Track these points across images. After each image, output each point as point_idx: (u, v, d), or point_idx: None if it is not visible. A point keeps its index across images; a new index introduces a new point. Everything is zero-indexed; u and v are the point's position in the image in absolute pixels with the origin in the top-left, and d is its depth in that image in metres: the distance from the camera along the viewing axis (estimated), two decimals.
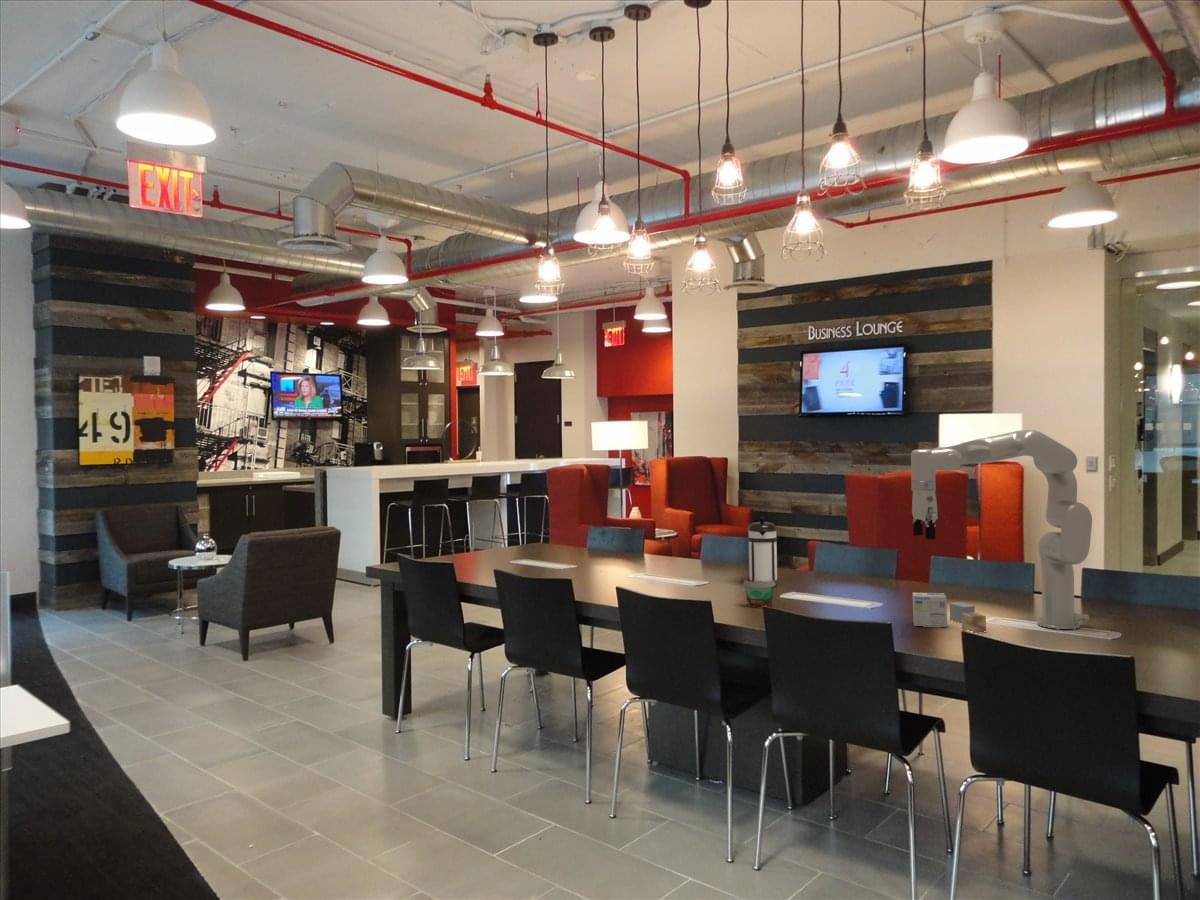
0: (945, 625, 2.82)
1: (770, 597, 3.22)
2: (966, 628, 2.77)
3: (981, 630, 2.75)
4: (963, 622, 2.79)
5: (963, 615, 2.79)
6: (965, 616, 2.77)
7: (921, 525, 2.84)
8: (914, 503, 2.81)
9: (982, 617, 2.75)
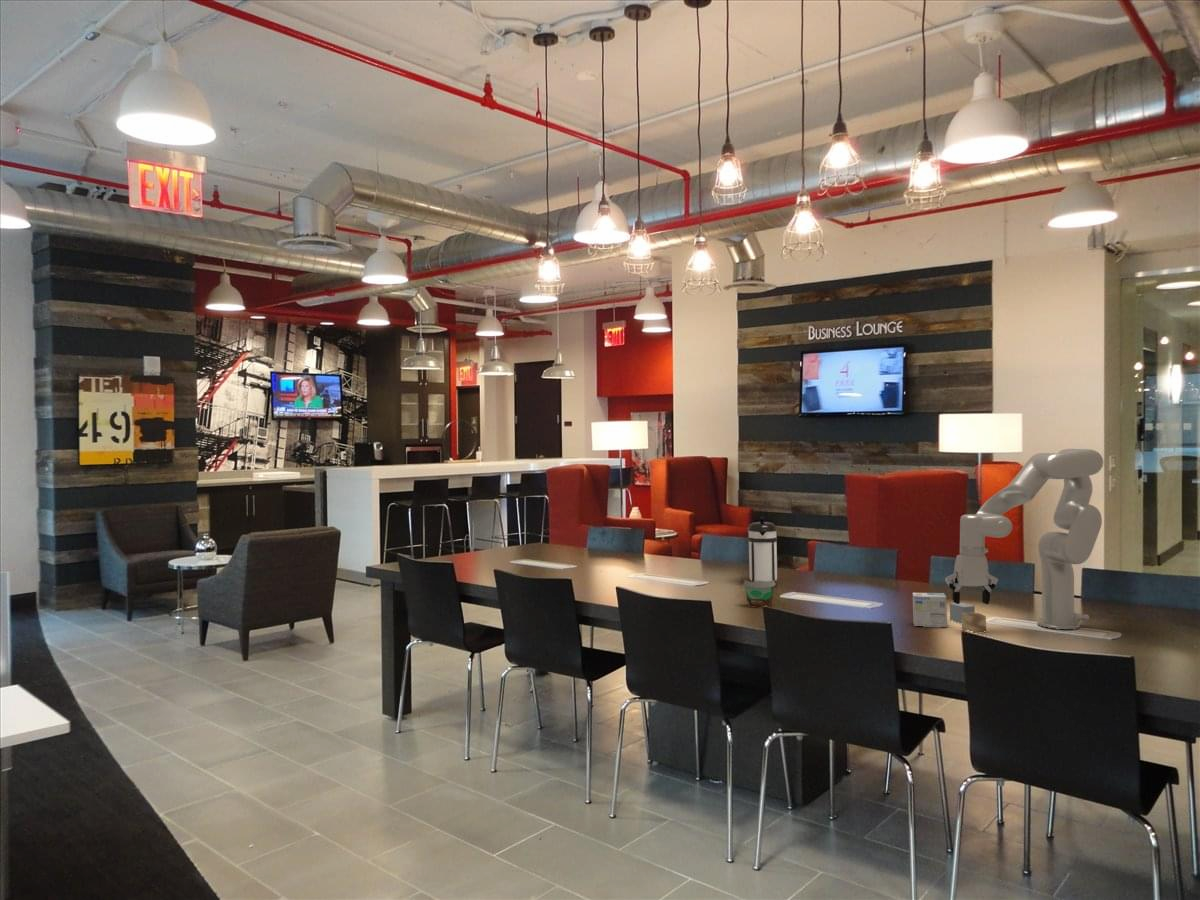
0: (945, 625, 2.82)
1: (770, 597, 3.22)
2: (966, 628, 2.77)
3: (981, 630, 2.75)
4: (963, 622, 2.79)
5: (963, 615, 2.79)
6: (965, 616, 2.77)
7: None
8: (969, 570, 2.75)
9: (982, 617, 2.75)
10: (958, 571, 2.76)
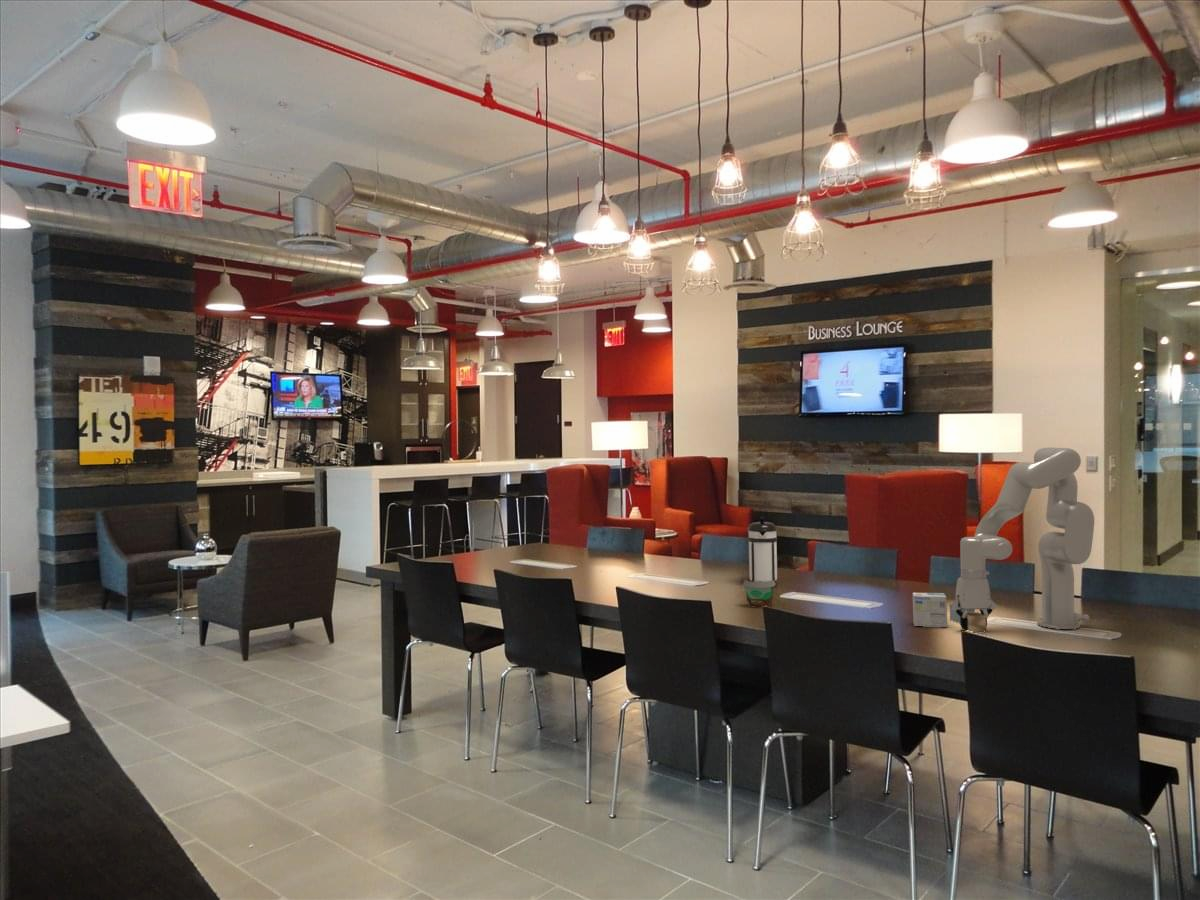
0: (945, 625, 2.82)
1: (770, 597, 3.22)
2: None
3: (981, 629, 2.75)
4: None
5: None
6: None
7: None
8: (971, 593, 2.75)
9: (982, 617, 2.75)
10: (960, 595, 2.76)
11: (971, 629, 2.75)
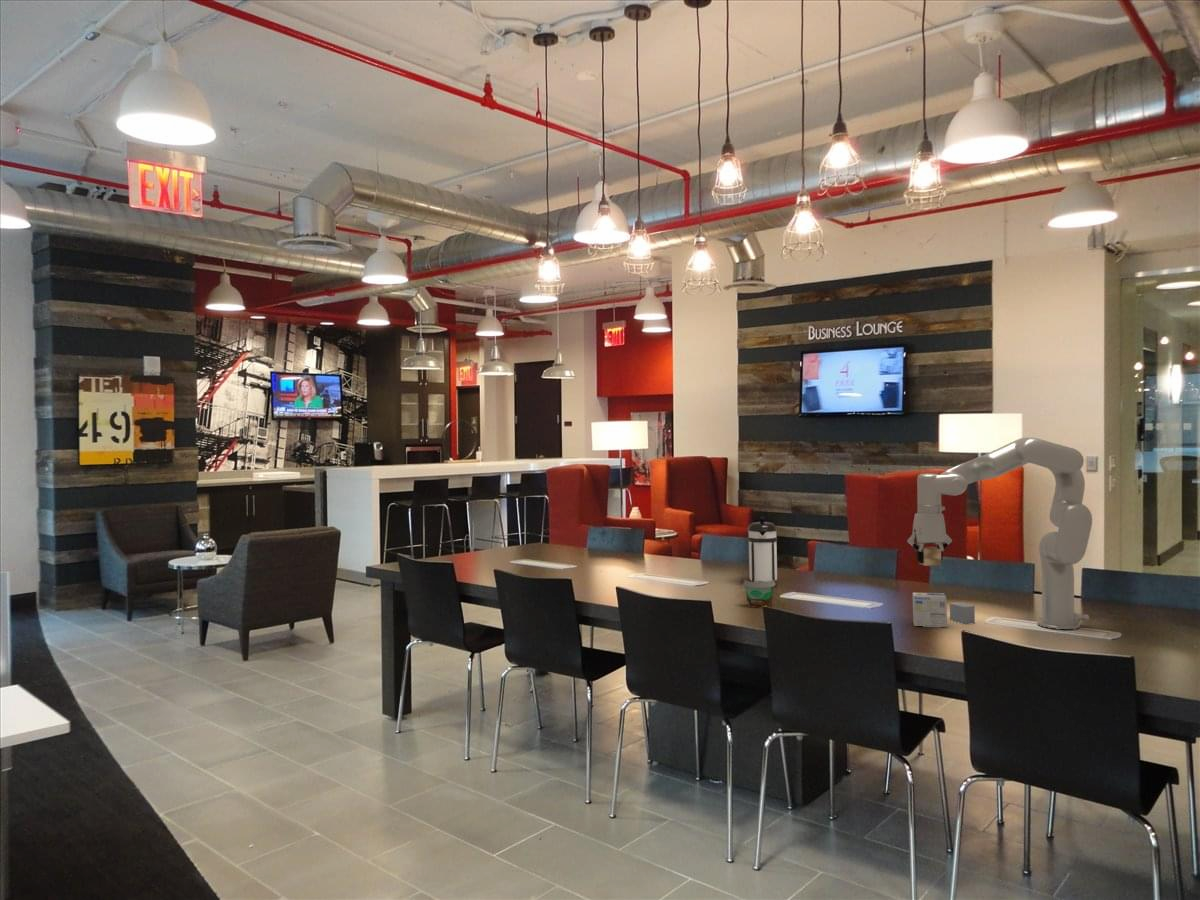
0: (945, 625, 2.82)
1: (770, 597, 3.22)
2: None
3: (937, 563, 2.83)
4: None
5: None
6: None
7: None
8: (927, 527, 2.83)
9: (937, 550, 2.83)
10: (916, 529, 2.84)
11: (927, 562, 2.83)
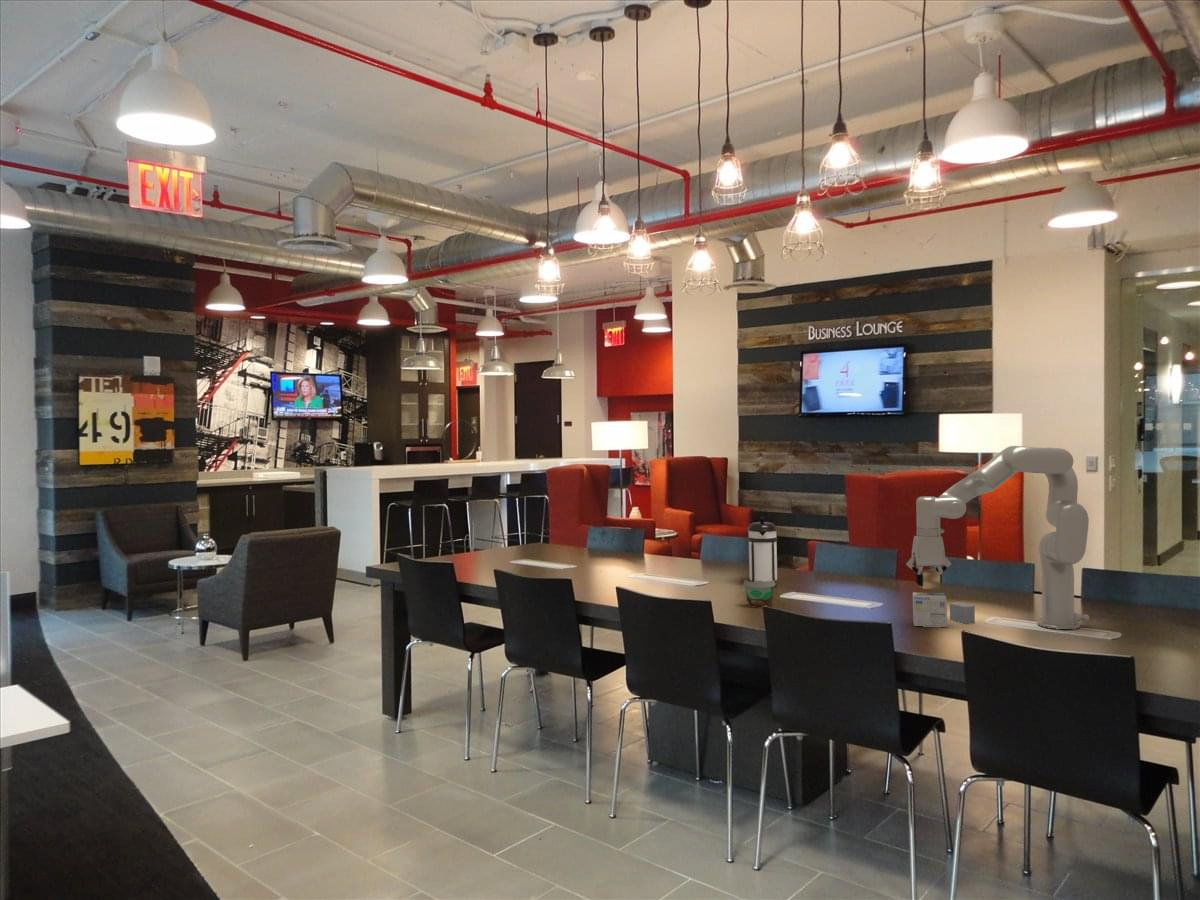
0: (945, 625, 2.82)
1: (770, 597, 3.22)
2: None
3: (936, 586, 2.83)
4: None
5: None
6: None
7: None
8: (926, 551, 2.84)
9: (937, 573, 2.83)
10: (915, 552, 2.85)
11: (926, 585, 2.83)
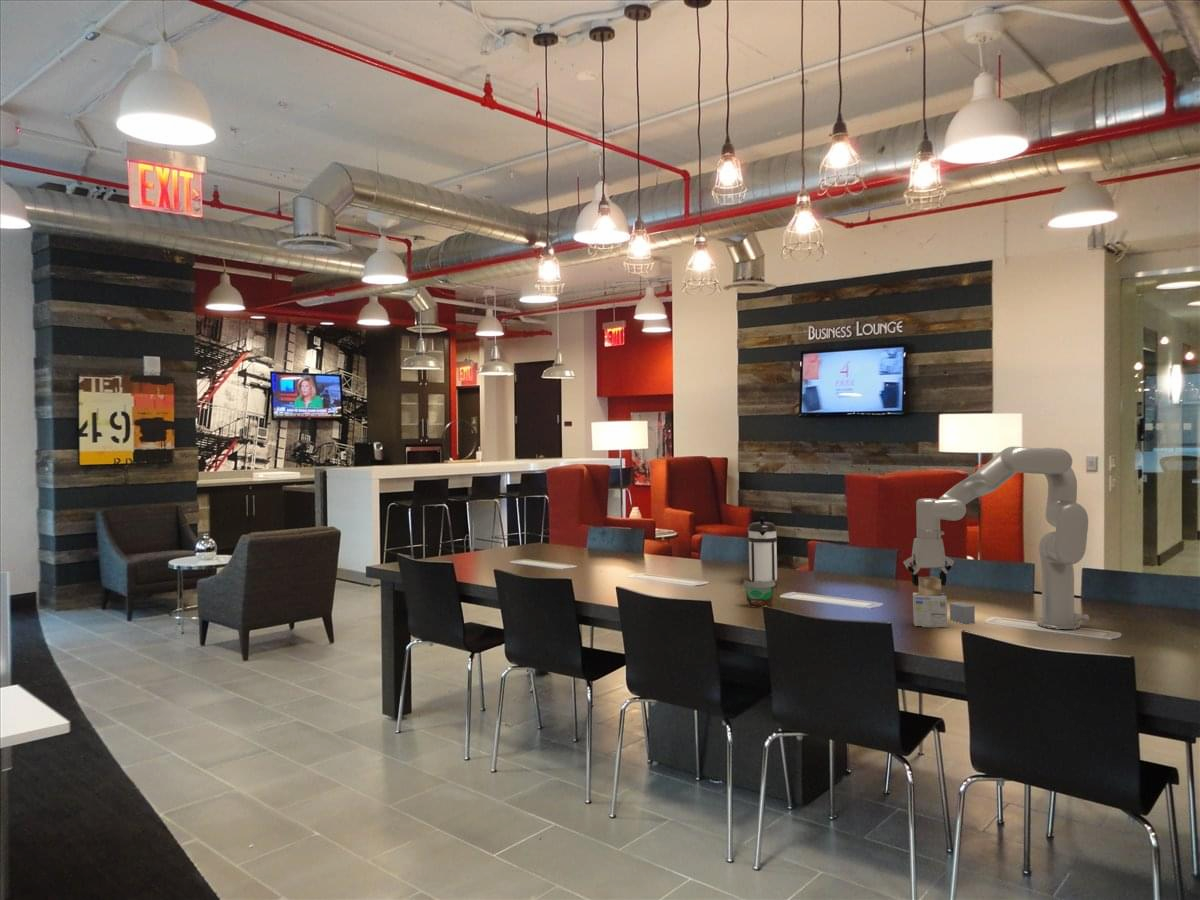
0: (945, 625, 2.82)
1: (770, 597, 3.22)
2: (922, 592, 2.85)
3: (937, 593, 2.83)
4: (919, 586, 2.88)
5: (919, 579, 2.87)
6: (921, 580, 2.86)
7: None
8: (926, 552, 2.84)
9: (937, 580, 2.83)
10: (915, 554, 2.85)
11: (927, 592, 2.83)
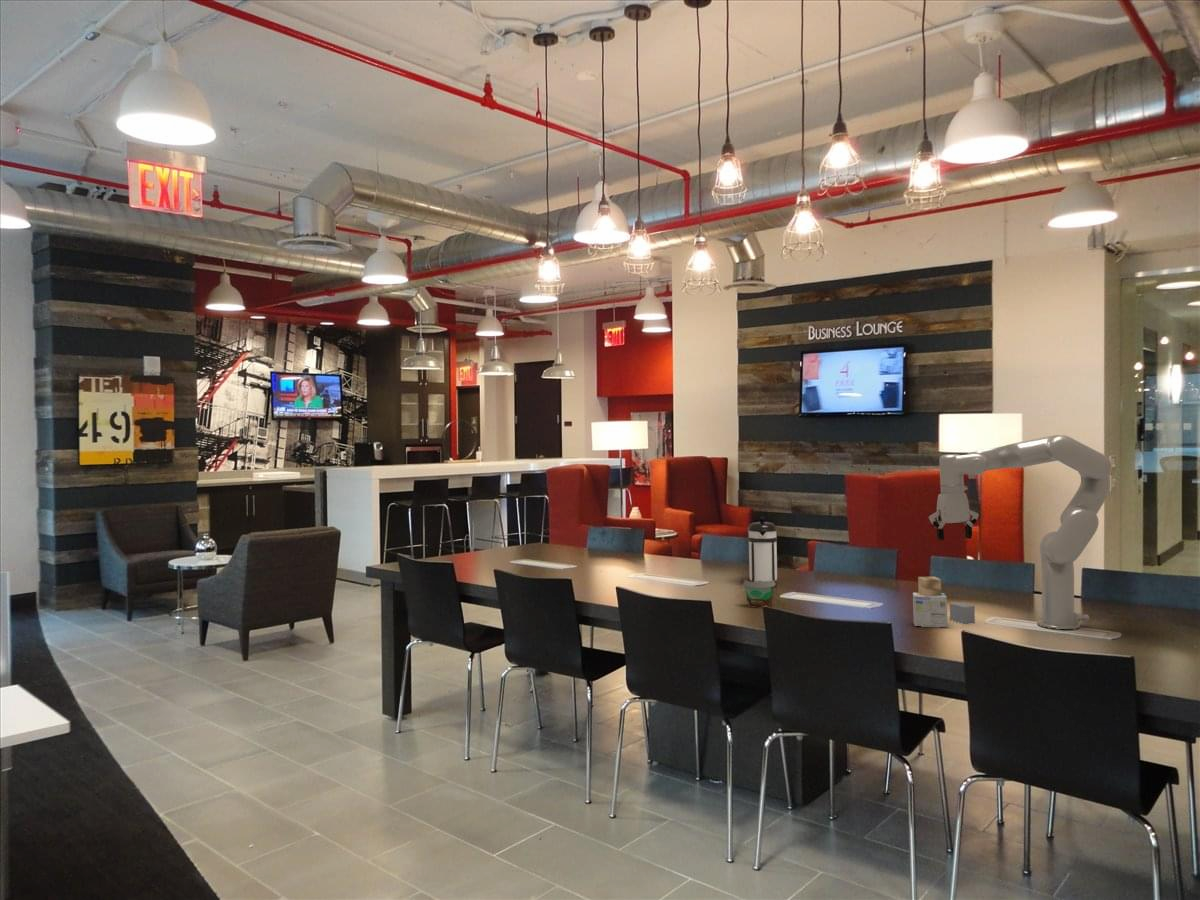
0: (945, 625, 2.82)
1: (770, 597, 3.22)
2: (922, 591, 2.85)
3: (936, 593, 2.83)
4: (919, 586, 2.88)
5: (919, 579, 2.87)
6: (921, 580, 2.86)
7: None
8: (951, 507, 2.88)
9: (937, 580, 2.83)
10: (941, 509, 2.89)
11: (927, 592, 2.83)
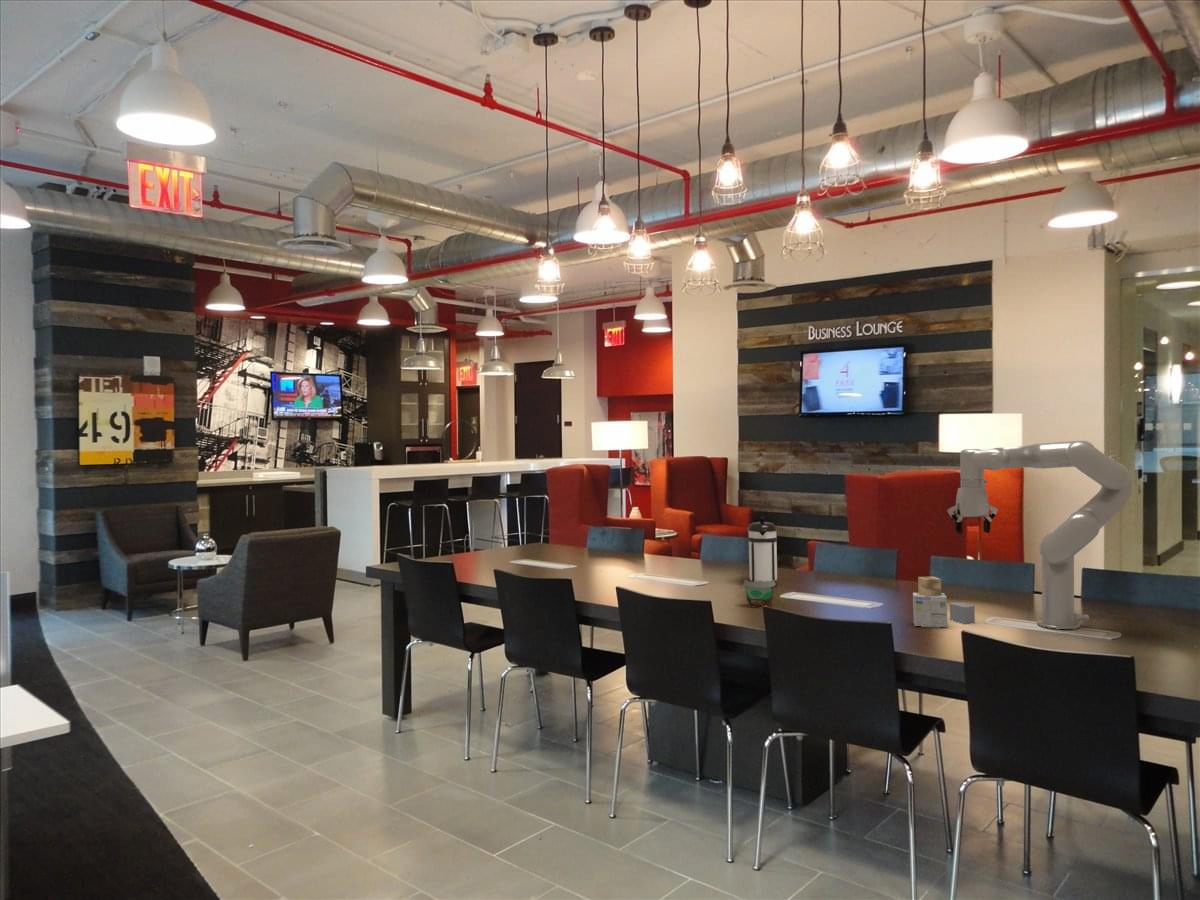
0: (945, 625, 2.82)
1: (770, 597, 3.22)
2: (922, 591, 2.85)
3: (937, 593, 2.83)
4: (919, 586, 2.87)
5: (919, 579, 2.87)
6: (921, 580, 2.86)
7: None
8: (970, 501, 2.91)
9: (937, 580, 2.83)
10: (960, 503, 2.93)
11: (927, 592, 2.83)
